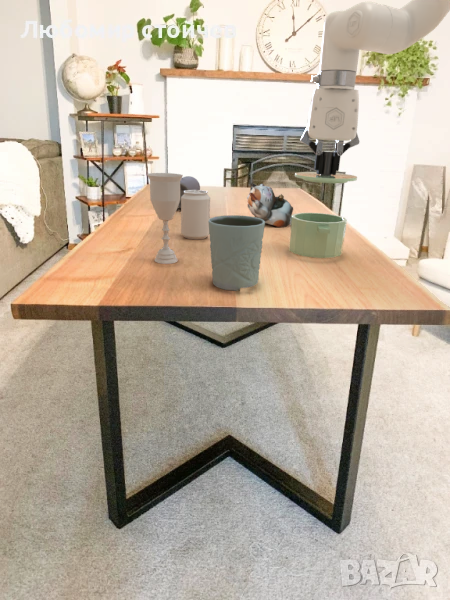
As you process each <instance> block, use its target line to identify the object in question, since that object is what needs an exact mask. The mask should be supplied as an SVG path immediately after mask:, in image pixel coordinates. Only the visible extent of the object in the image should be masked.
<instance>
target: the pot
mask: <svg viewBox="0 0 450 600" xmlns="http://www.w3.org/2000/svg"><path fill="white" fill-rule="evenodd" d="M347 222H348V219H347V218H346V217H344V216H341V215H337V214H332V213H323V212H298V213H292V215H291V224H289V226H290V227H289V235H288V236H289V237H288V246H287V247H288V251H289V252H291V253H293V254H294V255H298V256H300V257H301V256H302V257H307V258H313V259H315V258H316V259H331V258H332V259H333V258H336V257H340V256H341V255H343V252H344V246H345V236H346V230H347Z"/></svg>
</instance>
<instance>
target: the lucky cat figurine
mask: <svg viewBox="0 0 450 600" xmlns="http://www.w3.org/2000/svg"><path fill="white" fill-rule="evenodd" d="M246 199H247V208H248V210H249V212H250V213H251V215H252V216H253V217H257V218H260V219H263V220H264V221H265V224H268V225H271V226H273V227H276V228H286V227H288V226H290V224H291V215H293V212H294V206H292V204H291V203H290V202H289V201H288V200H287V199H285V197H284V194H282V193H280V194H279V195H278V196H276V195H275V192H274V190H273V188H272V187H271V186H268V185H265V184H263V183H260V184H259V185H257V184H256V183H253V182H252V183H250V190H249V193H248V194H247V196H246Z"/></svg>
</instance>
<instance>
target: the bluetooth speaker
mask: <svg viewBox="0 0 450 600" xmlns="http://www.w3.org/2000/svg"><path fill="white" fill-rule="evenodd" d="M185 190H201V185H200V182H199V180H198V179H197V178H195V177H194V176H182V178H181V180H180V202H179V205H178V208H177V209H181V197H182V196H183V195H184V191H185Z"/></svg>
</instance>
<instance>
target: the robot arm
mask: <svg viewBox="0 0 450 600" xmlns="http://www.w3.org/2000/svg"><path fill="white" fill-rule="evenodd" d="M449 12H450V0H410V1H409V2H408V3H406V4H405V5H404V6H402V7H400V8H397V7H393V6H390V5H387V4H382V3H377V2H374V1H362V2H359V3H357V4H355V5H353V6H351V7H349V8H347V9H345V10H337V11H333V12H330V13H328V14H327V16H326V17H325V19H324V23H323V30H322V31H323V32H322V40H321V52H320V58H319V59H320V60H319V61H320V62H319V71H318V73H317V74H315V75H313V74H312V75H311V79H310V82H311V83H314V84H315V85H316V87H317V88H314V89H313V93H312V96H311V101H310V106H309V110H308V116H307V125H306V128H305V130H304V132H303V134H302V135H301V137H300V139H299V141H300V142H301V143H302V144H303V145H306V146H308V147H309V148H310V149H311V150H312V152H313V153H314V154H315V159H314V171H315V172H316V173H317V174H322V167H323V159H324V156H323V149H324V148H323V147H324V141H335V145H334V151H333V152H334V156H333V165H332V173H331V174H332V175H336V173H337V172H339V170H340V163H341V157H342V156H343V155H344V154H345V152H347V151H348V150H349V149H351V148H352V147H355V146H357V145H360V138H359V135H358V123H359V122H358V121H359V103H360V101H359V100H360V98H359V97H360V96H359V95H360V94H359V89H355V87H356V79H357V72H358V64H359V56H360V51H364V52H365V51H366V52H374V53H378V54H384V55H395V54H397V53H400V52H402V51H404V50H406V49H408V48H410V47H411V46H413V45H415V43H417V42H419V41H420V40H422V39H423V38H425V37H426V36H428V35H430V34H431V32H433V31H434V30H435V29H437V27H439V25H440V24H441V23H442V21H443V20H444V19H445V17H446V16H447V15H448V13H449ZM311 139H312V140H311ZM313 140H315V142H314V141H313Z"/></svg>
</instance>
